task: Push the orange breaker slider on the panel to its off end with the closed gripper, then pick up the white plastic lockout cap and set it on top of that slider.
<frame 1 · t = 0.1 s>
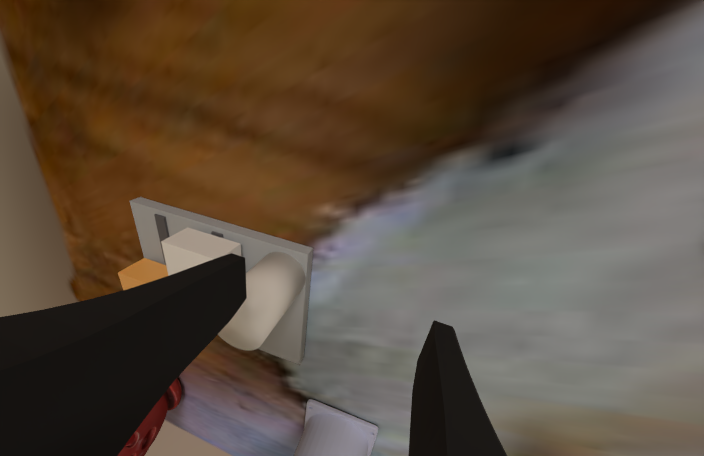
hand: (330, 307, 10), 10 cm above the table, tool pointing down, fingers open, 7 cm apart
panel: (226, 281, 27), on the table
lockout cap: (283, 273, 23), point 1 cm above the table, touching panel
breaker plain: (205, 268, 23), point 3 cm above the table, slide at 5.0 cm
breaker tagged: (159, 294, 26), point 3 cm above the table, slide at 0.0 cm
plant pot: (157, 370, 40), on the table
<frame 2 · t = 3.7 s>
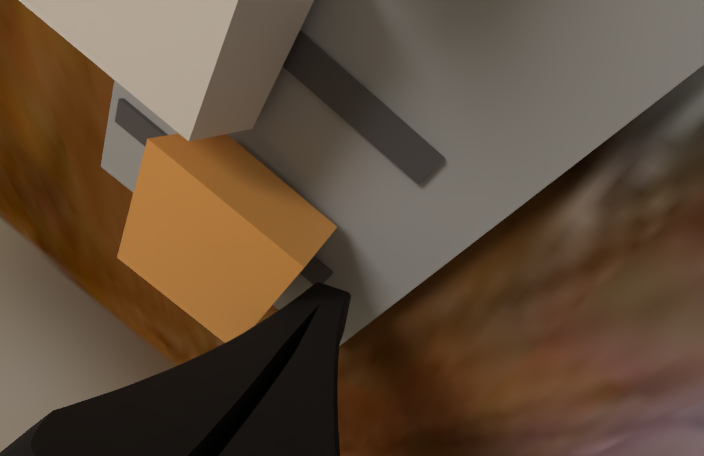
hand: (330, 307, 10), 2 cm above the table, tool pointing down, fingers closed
panel: (329, 92, 9), on the table
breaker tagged: (226, 242, 9), point 3 cm above the table, slide at 1.0 cm, touching gripper
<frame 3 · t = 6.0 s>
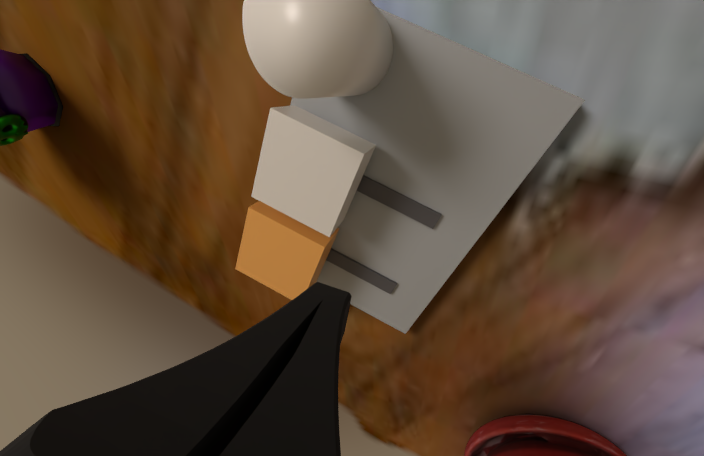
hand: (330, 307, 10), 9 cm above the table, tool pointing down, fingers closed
panel: (376, 192, 18), on the table
potion bottle: (37, 91, 23), on the table
lockout cap: (353, 51, 14), point 1 cm above the table, touching panel
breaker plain: (312, 171, 16), point 3 cm above the table, slide at 5.0 cm
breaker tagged: (286, 249, 18), point 3 cm above the table, slide at 5.0 cm
plant pot: (543, 447, 23), on the table
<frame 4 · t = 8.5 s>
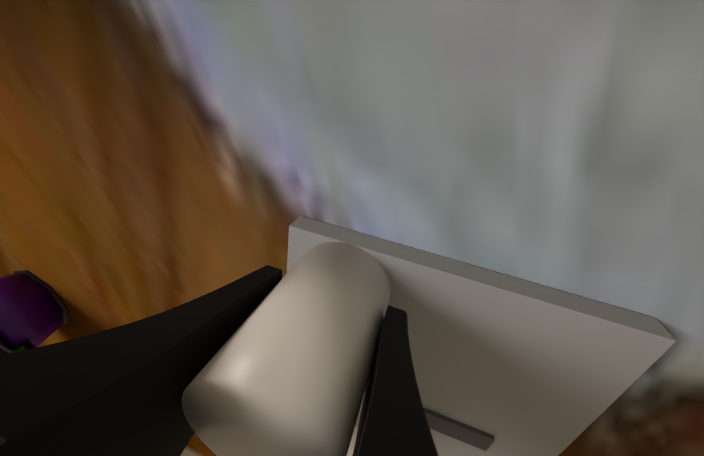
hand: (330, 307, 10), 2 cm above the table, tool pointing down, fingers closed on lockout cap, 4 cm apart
panel: (403, 393, 15), on the table
potion bottle: (44, 296, 23), on the table
lockout cap: (342, 284, 12), point 1 cm above the table, touching gripper, panel
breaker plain: (322, 413, 13), point 3 cm above the table, slide at 5.0 cm
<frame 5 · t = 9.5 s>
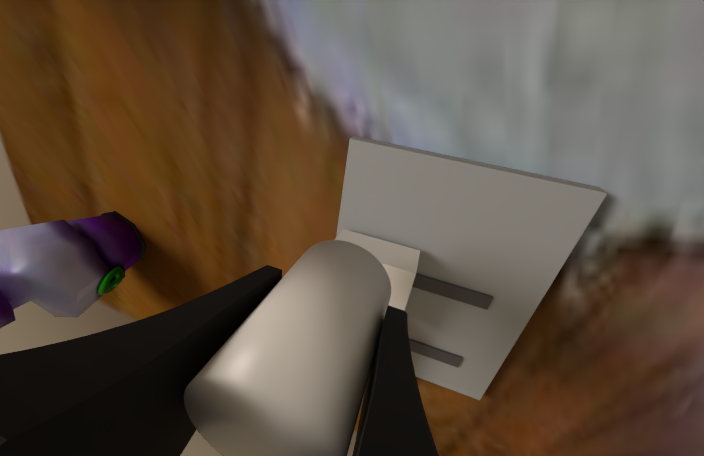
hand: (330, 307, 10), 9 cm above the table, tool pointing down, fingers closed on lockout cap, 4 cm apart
panel: (425, 279, 20), on the table
potion bottle: (124, 236, 28), on the table
lockout cap: (342, 283, 12), point 8 cm above the table, touching gripper
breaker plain: (368, 282, 18), point 3 cm above the table, slide at 5.0 cm
when the fingers open (7 cm above the table, at t = 10.9 s): lockout cap drops 1 cm, resting on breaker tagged.
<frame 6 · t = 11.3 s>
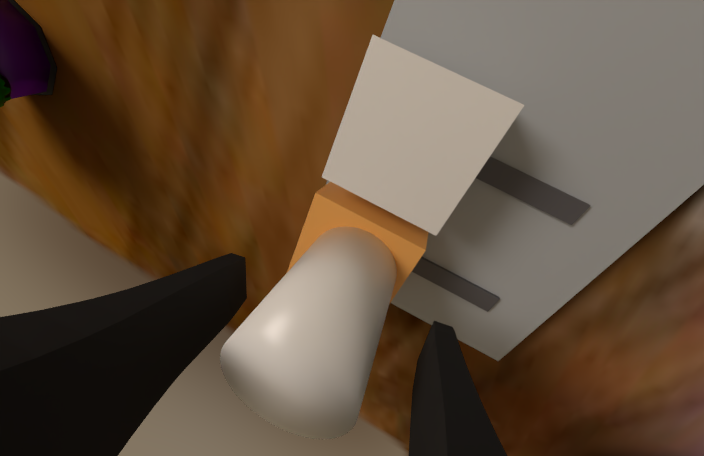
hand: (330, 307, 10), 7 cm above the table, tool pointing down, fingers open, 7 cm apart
panel: (481, 174, 13), on the table
potion bottle: (25, 50, 18), on the table
lockout cap: (352, 267, 13), point 4 cm above the table, touching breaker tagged
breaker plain: (412, 140, 11), point 3 cm above the table, slide at 5.0 cm
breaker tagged: (355, 251, 14), point 3 cm above the table, slide at 5.0 cm, touching lockout cap
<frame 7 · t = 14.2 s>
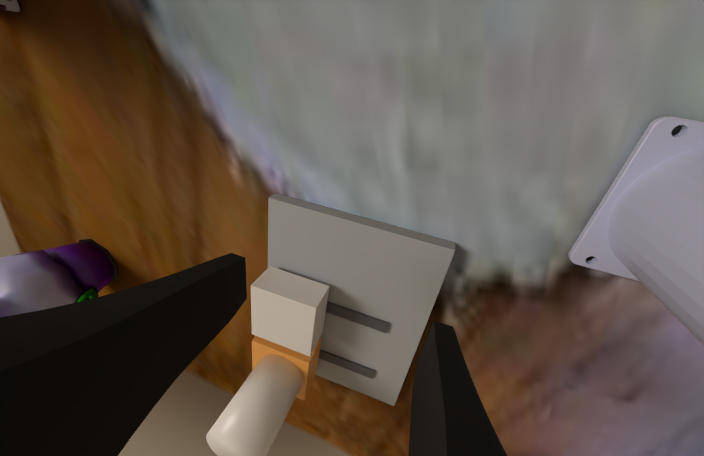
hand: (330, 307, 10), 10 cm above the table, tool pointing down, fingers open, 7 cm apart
panel: (343, 306, 24), on the table
potion bottle: (100, 259, 32), on the table
lockout cap: (281, 372, 23), point 4 cm above the table, touching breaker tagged
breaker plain: (289, 310, 22), point 3 cm above the table, slide at 5.0 cm
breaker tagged: (286, 359, 24), point 3 cm above the table, slide at 5.0 cm, touching lockout cap
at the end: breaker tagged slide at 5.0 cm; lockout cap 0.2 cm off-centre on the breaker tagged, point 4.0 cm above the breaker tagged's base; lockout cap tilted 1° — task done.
